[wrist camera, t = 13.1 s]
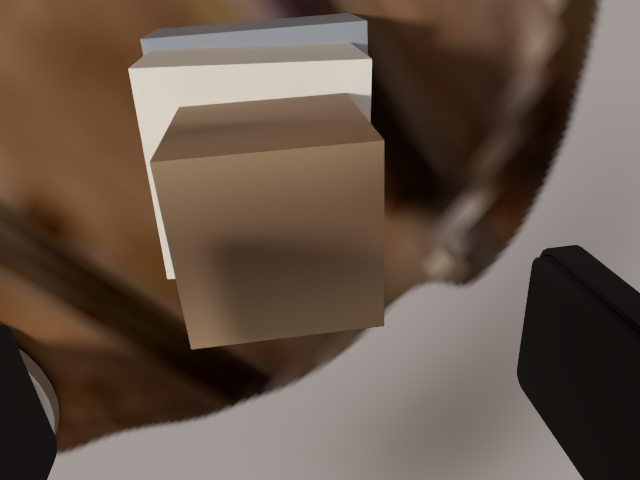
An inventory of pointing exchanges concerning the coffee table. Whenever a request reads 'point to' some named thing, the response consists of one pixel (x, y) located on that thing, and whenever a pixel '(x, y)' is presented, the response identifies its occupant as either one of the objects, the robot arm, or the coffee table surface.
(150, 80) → the tower top
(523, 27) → the coffee table surface
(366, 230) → the walnut cube
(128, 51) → the coffee table surface
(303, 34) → the tower base
